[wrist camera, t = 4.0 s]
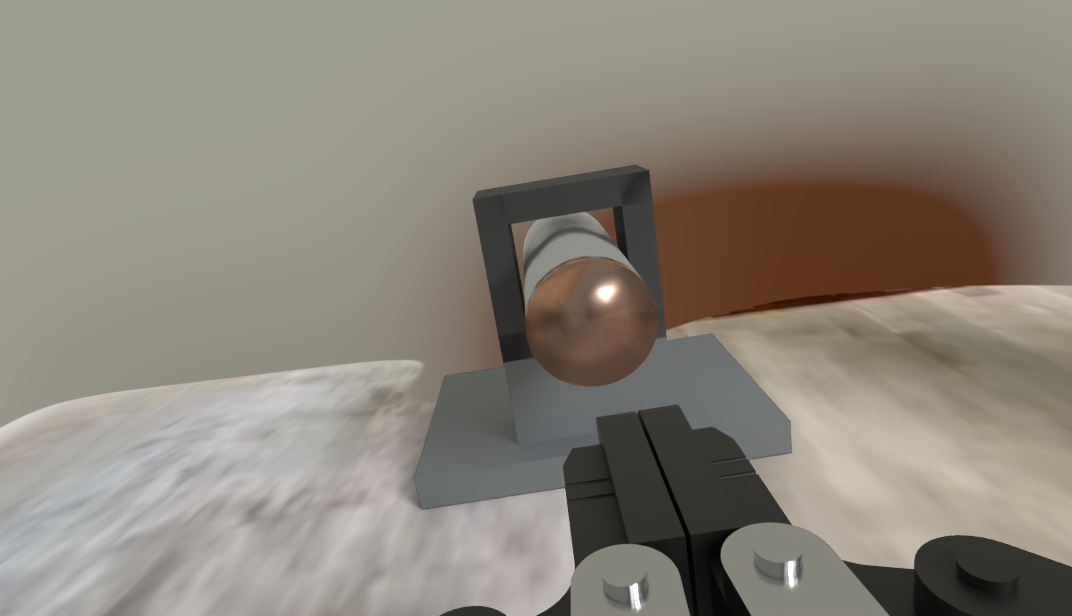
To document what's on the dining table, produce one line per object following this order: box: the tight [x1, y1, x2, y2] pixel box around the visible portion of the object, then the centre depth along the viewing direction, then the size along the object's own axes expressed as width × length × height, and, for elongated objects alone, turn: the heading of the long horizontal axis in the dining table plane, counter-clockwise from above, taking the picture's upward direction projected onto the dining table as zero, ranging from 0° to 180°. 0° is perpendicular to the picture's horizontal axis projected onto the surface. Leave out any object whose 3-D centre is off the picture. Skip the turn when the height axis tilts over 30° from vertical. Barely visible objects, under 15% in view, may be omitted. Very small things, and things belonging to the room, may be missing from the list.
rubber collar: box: [473, 165, 666, 363], centre depth 27 cm, size 7×3×7 cm, turn 92°
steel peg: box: [524, 212, 659, 387], centre depth 24 cm, size 4×11×4 cm, turn 2°
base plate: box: [414, 334, 792, 509], centre depth 31 cm, size 16×11×6 cm
